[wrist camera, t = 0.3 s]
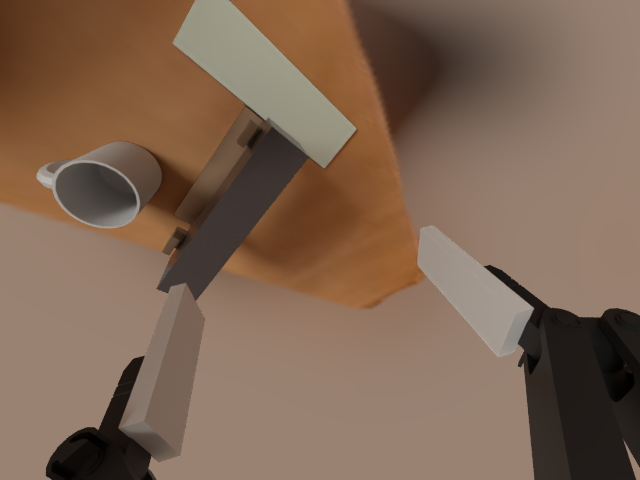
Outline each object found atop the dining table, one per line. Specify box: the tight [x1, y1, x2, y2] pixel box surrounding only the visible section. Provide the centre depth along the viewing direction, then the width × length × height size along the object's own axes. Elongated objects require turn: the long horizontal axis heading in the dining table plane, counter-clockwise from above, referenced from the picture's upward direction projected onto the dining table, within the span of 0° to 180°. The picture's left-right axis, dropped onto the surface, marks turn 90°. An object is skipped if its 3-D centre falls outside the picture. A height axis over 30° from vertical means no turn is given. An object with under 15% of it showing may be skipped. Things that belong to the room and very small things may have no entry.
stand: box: [162, 106, 265, 255], centre depth 33 cm, size 8×18×10 cm, turn 140°
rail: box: [157, 117, 309, 301], centre depth 28 cm, size 4×20×6 cm, turn 140°
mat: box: [173, 0, 357, 169], centre depth 33 cm, size 22×7×1 cm, turn 50°
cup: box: [37, 141, 162, 228], centre depth 30 cm, size 7×10×9 cm
